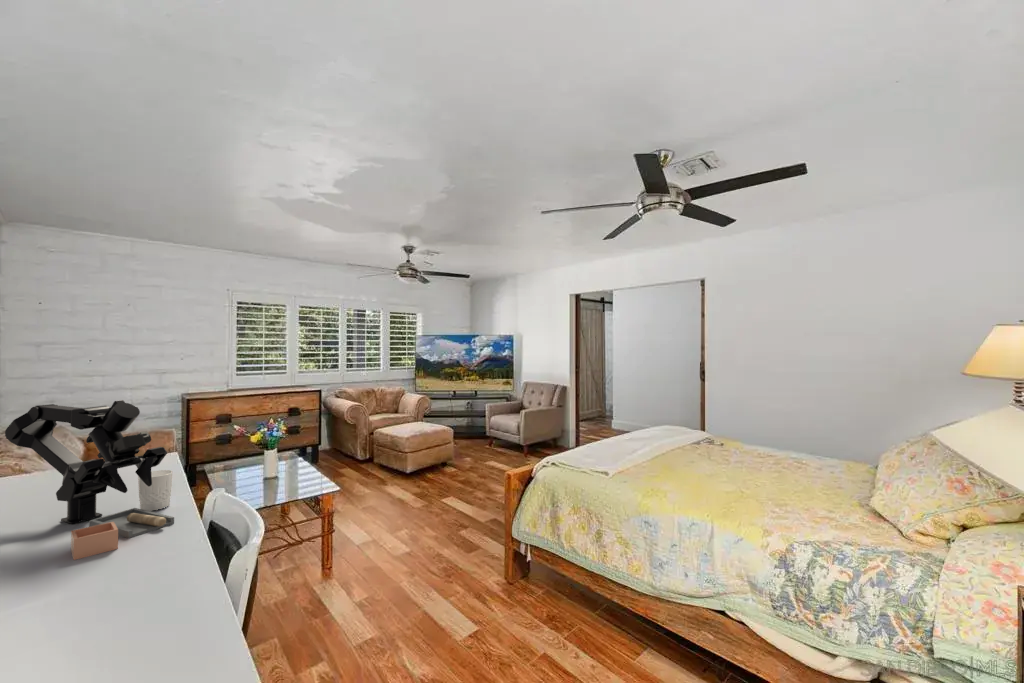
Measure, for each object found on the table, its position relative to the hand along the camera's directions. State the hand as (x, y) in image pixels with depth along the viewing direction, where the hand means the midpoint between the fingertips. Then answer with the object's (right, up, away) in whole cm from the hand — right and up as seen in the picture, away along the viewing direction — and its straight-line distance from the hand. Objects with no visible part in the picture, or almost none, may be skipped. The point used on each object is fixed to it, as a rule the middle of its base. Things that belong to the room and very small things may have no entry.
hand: (138, 488), depth 114 cm
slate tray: (-1, -10, 0) cm, 10 cm away
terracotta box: (+2, -10, -14) cm, 18 cm away
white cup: (-7, -11, +14) cm, 19 cm away
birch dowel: (-2, -10, 0) cm, 10 cm away
